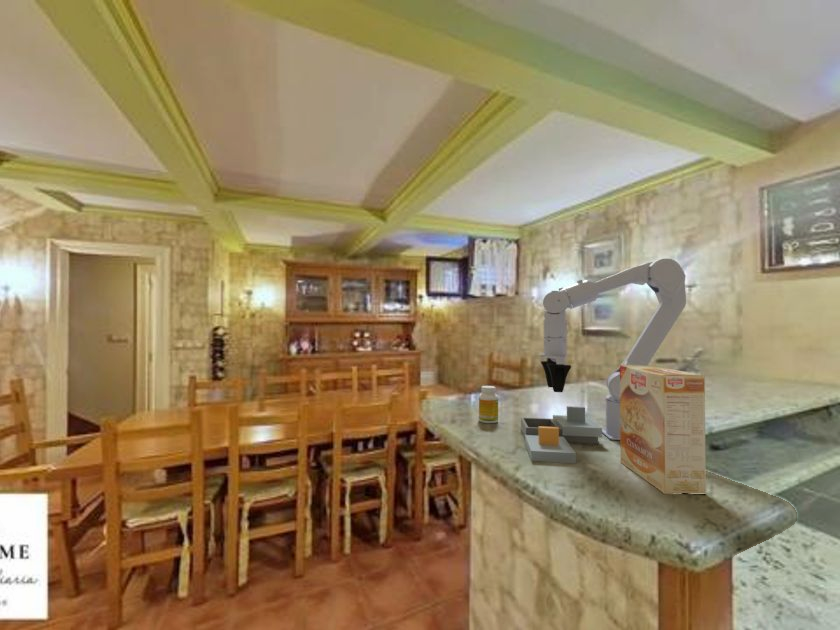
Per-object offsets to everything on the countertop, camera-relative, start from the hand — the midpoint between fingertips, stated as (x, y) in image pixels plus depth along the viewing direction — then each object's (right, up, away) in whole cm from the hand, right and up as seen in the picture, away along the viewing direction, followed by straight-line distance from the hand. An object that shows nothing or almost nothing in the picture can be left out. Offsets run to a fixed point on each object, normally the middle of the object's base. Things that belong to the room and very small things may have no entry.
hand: (555, 389), depth 102 cm
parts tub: (-2, -10, -7) cm, 13 cm away
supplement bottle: (-16, -11, +8) cm, 21 cm away
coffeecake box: (+8, -10, -32) cm, 34 cm away
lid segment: (+2, -8, -8) cm, 11 cm away
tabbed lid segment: (-8, -10, -19) cm, 23 cm away
